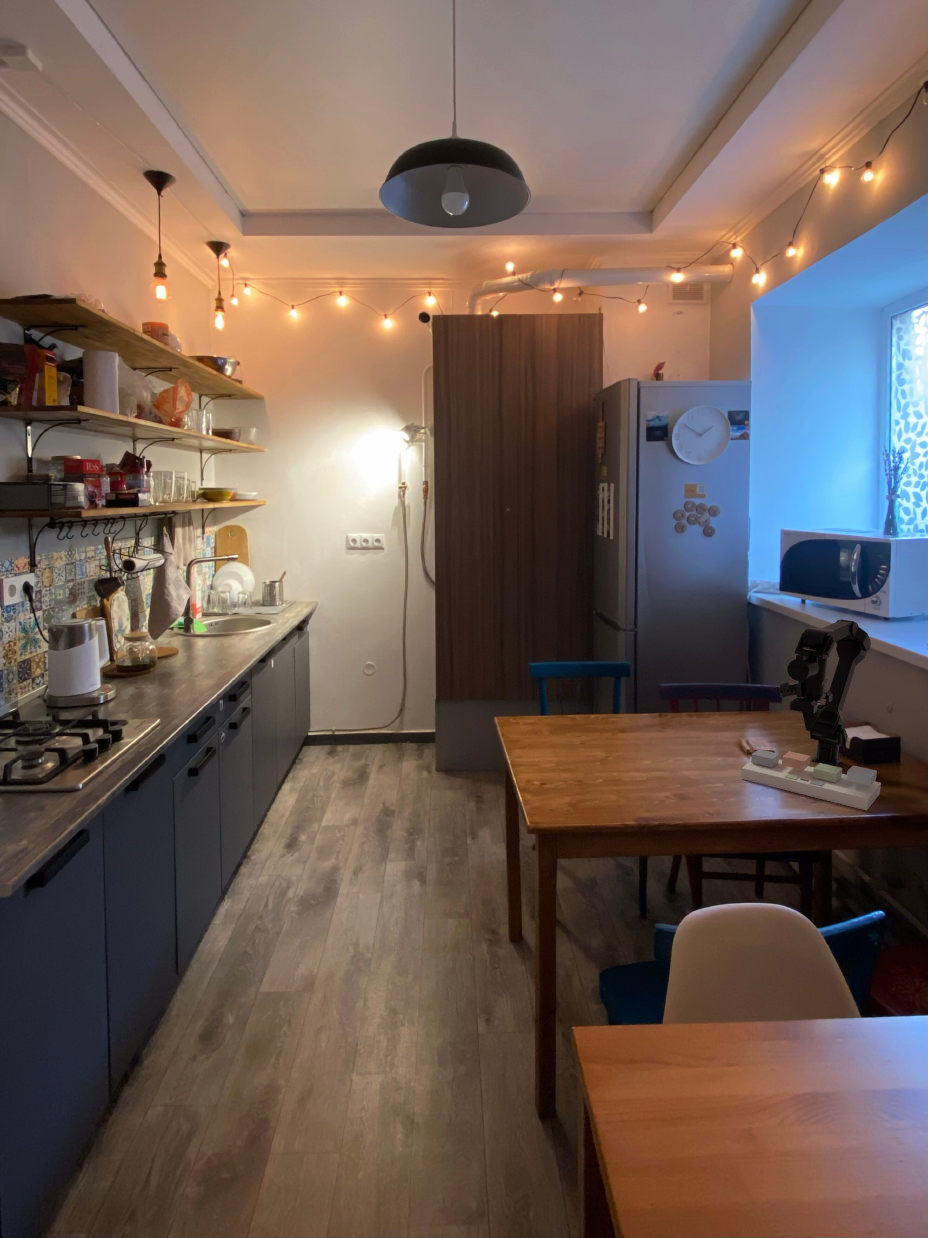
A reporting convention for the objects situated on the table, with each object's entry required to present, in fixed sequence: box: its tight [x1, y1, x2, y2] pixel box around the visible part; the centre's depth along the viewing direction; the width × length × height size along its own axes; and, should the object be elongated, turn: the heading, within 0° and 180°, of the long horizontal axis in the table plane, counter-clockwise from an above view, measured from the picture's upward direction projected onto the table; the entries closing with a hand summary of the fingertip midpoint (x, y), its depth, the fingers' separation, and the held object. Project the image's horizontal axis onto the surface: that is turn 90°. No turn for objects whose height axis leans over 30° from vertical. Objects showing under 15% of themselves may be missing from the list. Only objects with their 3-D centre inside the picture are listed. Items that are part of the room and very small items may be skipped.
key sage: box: [813, 763, 843, 783], centre depth 202 cm, size 6×6×2 cm
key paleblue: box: [846, 765, 878, 786], centre depth 196 cm, size 6×6×2 cm
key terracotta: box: [781, 750, 812, 770], centre depth 206 cm, size 6×6×2 cm
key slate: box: [750, 748, 780, 767], centre depth 212 cm, size 6×6×2 cm
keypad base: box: [740, 759, 882, 811], centre depth 204 cm, size 14×31×3 cm, turn 50°
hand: (808, 730), depth 212 cm, fingers closed
